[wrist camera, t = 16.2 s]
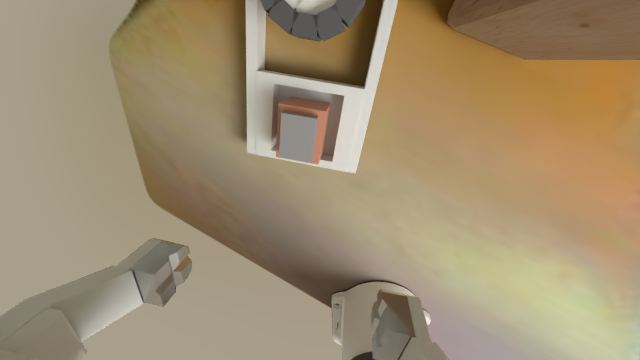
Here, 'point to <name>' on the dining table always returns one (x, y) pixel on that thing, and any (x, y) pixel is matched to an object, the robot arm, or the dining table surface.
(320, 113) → the two-tone grey-capped cube
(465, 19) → the wooden block
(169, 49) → the dining table surface
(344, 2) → the wheel
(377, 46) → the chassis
